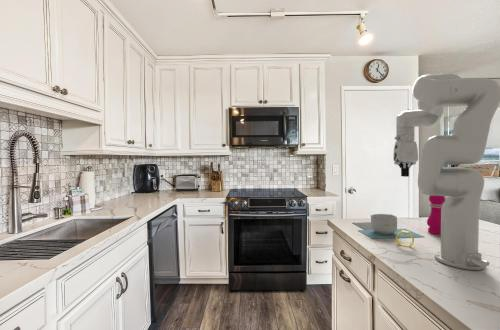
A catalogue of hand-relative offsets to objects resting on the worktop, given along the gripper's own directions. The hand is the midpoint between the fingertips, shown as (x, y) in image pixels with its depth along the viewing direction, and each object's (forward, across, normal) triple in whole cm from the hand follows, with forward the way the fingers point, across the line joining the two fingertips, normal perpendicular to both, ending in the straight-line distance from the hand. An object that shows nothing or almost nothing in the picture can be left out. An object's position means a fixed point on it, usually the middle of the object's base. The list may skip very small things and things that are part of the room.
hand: (405, 176), depth 121 cm
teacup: (+26, -14, -6) cm, 30 cm away
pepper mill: (+26, +9, -9) cm, 29 cm away
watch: (+26, -18, -22) cm, 39 cm away
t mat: (+26, -13, -1) cm, 29 cm away
